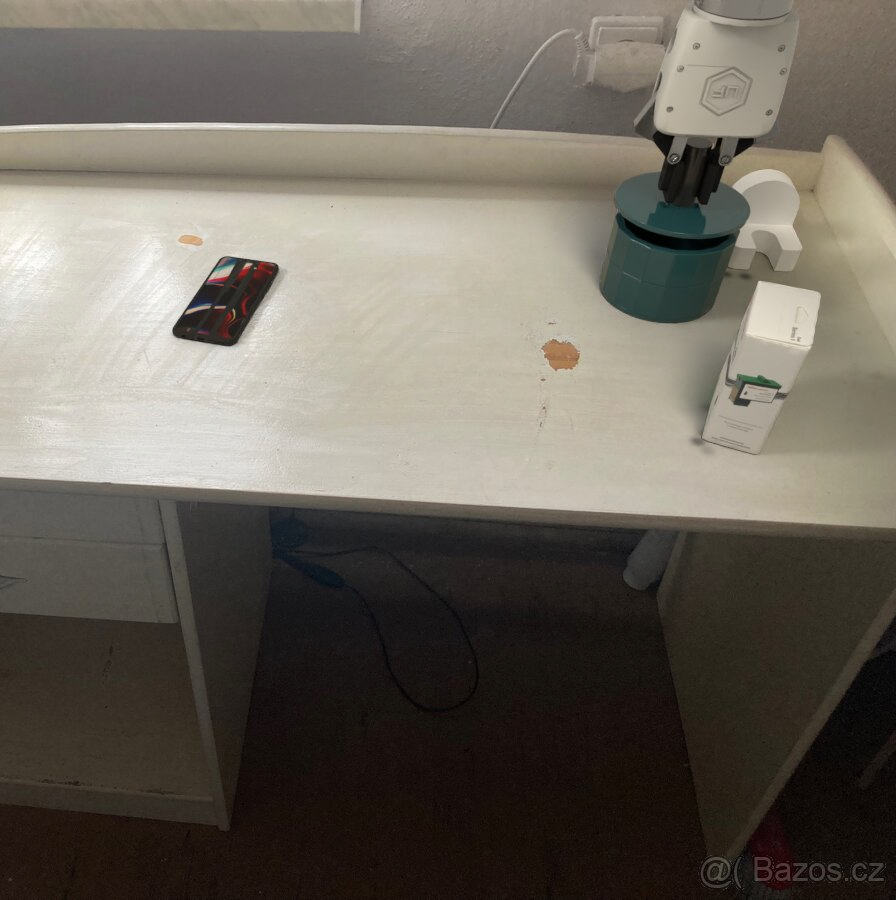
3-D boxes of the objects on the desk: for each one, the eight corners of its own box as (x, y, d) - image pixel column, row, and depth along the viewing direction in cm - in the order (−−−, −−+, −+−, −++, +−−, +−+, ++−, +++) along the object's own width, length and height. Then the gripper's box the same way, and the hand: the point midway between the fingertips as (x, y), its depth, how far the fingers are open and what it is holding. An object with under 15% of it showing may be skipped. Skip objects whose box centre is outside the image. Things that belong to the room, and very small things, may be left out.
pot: (724, 276, 93) (748, 209, 87) (702, 334, 86) (727, 265, 80) (615, 251, 97) (632, 186, 92) (586, 305, 90) (602, 237, 85)
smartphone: (169, 331, 88) (221, 254, 99) (169, 337, 89) (222, 259, 99) (234, 342, 87) (281, 263, 97) (235, 348, 87) (281, 268, 97)
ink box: (714, 383, 81) (757, 274, 72) (772, 397, 79) (822, 288, 71) (699, 440, 75) (744, 331, 67) (761, 457, 74) (814, 347, 65)
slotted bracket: (795, 271, 93) (823, 206, 88) (727, 268, 94) (751, 203, 89) (767, 211, 102) (791, 148, 97) (706, 209, 103) (726, 146, 98)
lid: (759, 191, 87) (782, 128, 82) (735, 251, 79) (759, 185, 74) (631, 166, 91) (647, 105, 87) (598, 220, 84) (613, 157, 79)
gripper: (649, 6, 70) (601, 212, 83) (864, 10, 68) (780, 221, 80) (638, -23, 75) (595, 175, 88) (837, -21, 73) (763, 182, 86)
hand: (684, 195), depth 84 cm, fingers closed on lid, 2 cm apart
